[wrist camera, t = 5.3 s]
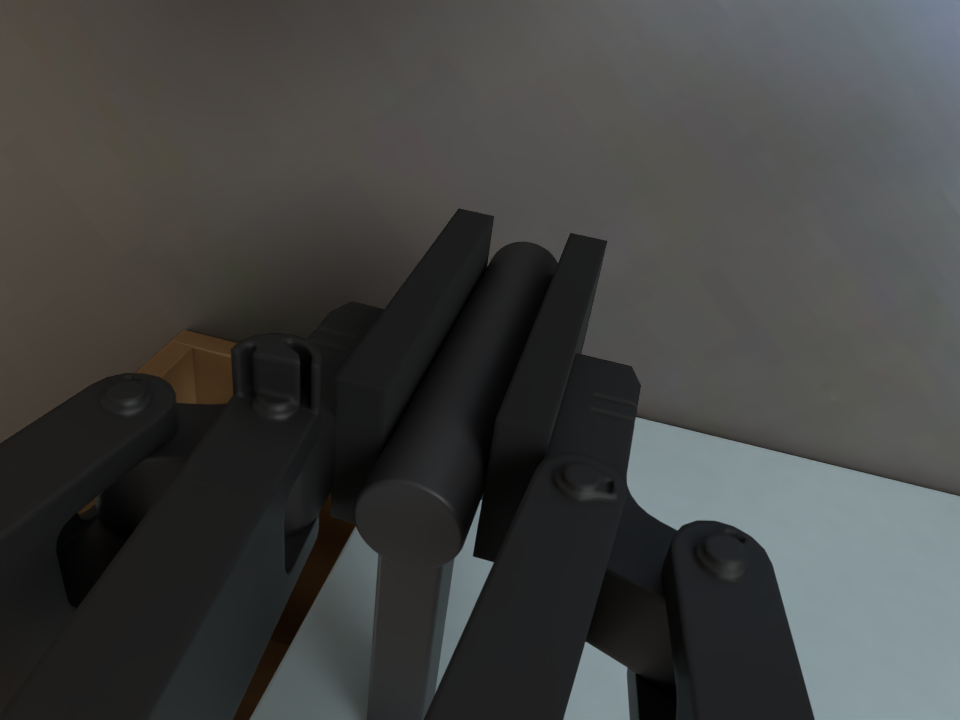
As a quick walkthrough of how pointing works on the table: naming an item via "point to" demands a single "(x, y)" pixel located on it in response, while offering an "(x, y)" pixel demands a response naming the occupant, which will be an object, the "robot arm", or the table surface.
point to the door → (662, 494)
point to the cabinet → (208, 380)
